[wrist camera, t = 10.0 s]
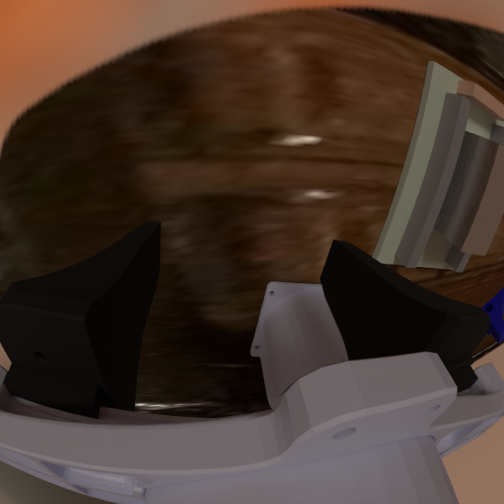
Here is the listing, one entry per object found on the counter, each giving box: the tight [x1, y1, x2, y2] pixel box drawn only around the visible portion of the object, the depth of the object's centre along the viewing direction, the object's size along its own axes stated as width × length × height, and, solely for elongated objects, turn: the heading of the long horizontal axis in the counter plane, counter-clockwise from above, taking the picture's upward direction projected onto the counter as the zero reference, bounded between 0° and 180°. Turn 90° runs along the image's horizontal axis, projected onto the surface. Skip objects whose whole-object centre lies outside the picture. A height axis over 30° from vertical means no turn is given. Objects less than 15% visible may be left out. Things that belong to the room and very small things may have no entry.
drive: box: [434, 131, 504, 256], centre depth 19 cm, size 9×4×5 cm, turn 170°
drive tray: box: [372, 61, 504, 272], centre depth 20 cm, size 18×12×3 cm, turn 170°
